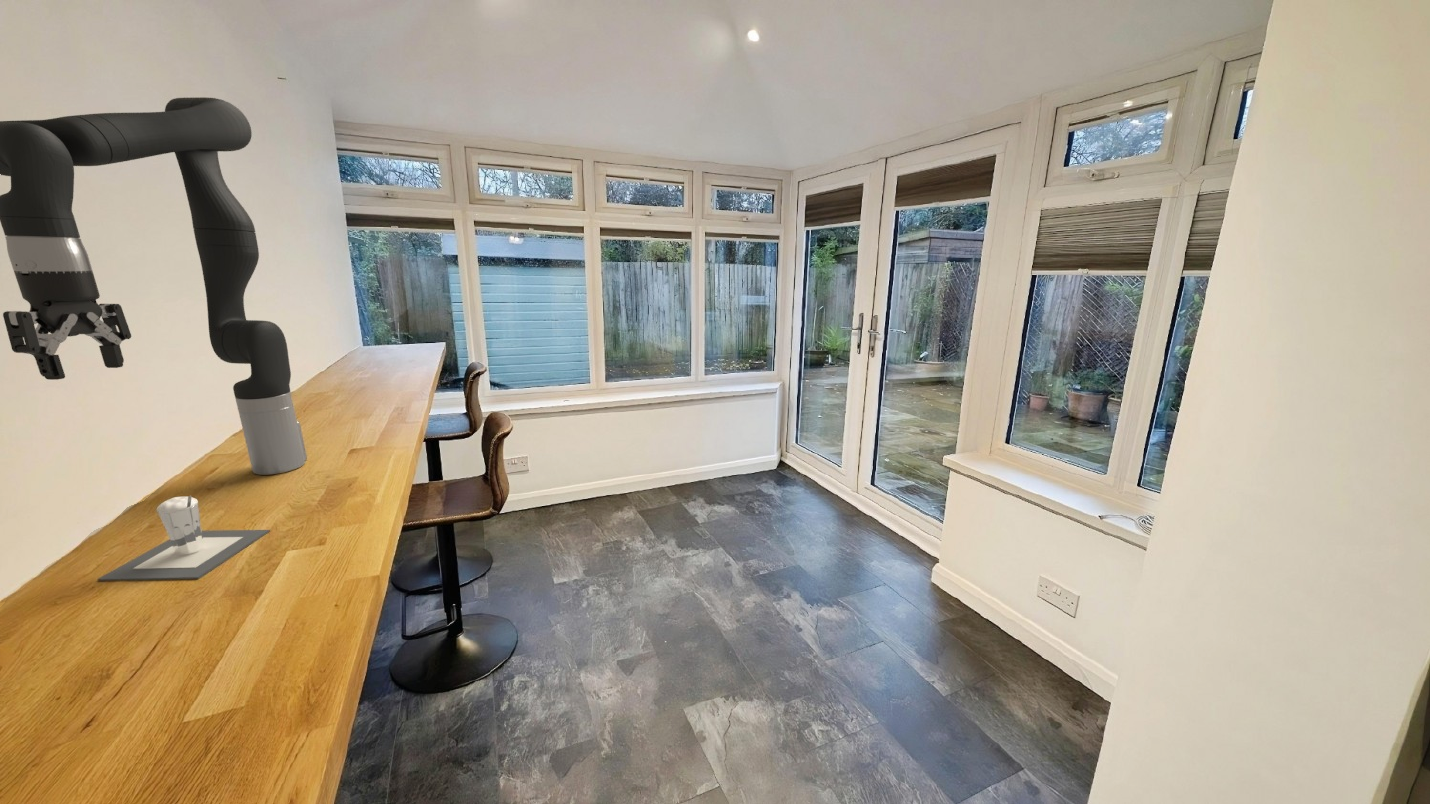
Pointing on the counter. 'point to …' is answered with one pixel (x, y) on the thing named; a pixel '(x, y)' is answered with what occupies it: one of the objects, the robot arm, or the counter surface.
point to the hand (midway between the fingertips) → (86, 372)
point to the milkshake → (182, 524)
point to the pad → (185, 557)
